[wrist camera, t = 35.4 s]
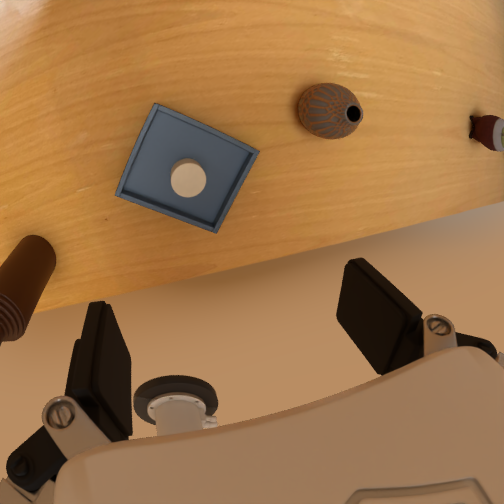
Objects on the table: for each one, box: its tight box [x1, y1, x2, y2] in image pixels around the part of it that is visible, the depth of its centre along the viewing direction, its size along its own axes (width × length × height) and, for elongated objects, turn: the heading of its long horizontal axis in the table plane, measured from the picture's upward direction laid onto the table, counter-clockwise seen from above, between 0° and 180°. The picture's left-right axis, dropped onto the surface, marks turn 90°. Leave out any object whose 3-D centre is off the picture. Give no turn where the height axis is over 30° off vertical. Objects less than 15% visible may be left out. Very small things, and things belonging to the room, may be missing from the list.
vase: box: [298, 83, 363, 139], centre depth 30 cm, size 7×7×9 cm
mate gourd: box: [469, 115, 504, 151], centre depth 36 cm, size 8×8×15 cm
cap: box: [170, 158, 206, 197], centre depth 32 cm, size 4×4×3 cm
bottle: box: [0, 235, 56, 345], centre depth 24 cm, size 6×6×18 cm
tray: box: [115, 103, 260, 234], centre depth 32 cm, size 13×11×2 cm
